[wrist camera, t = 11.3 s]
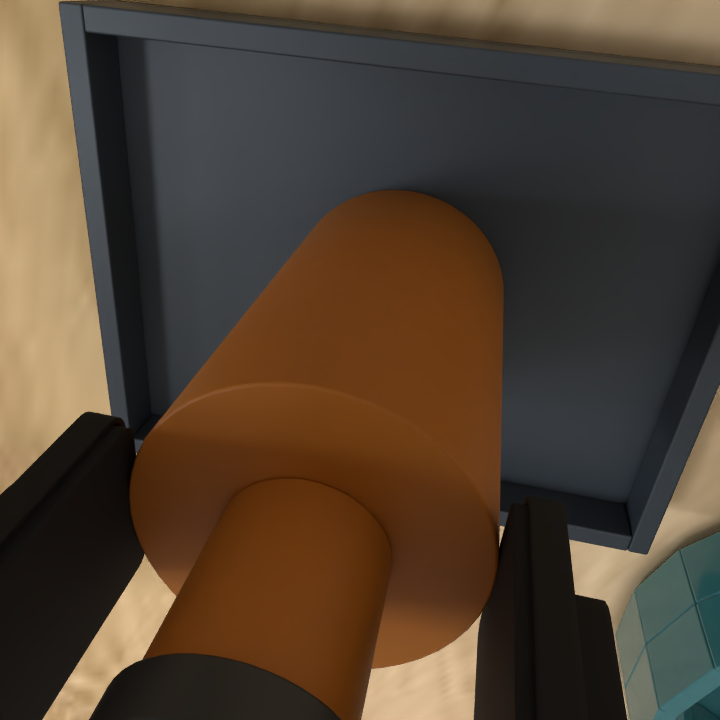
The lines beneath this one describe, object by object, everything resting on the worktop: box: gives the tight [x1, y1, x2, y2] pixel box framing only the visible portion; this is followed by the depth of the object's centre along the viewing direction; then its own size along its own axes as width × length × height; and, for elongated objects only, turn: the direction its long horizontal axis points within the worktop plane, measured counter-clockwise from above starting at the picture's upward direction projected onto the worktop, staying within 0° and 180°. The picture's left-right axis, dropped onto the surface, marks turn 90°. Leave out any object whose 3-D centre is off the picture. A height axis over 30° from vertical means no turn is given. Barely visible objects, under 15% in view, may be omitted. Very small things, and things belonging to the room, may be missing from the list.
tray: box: [59, 0, 720, 554], centre depth 19 cm, size 17×13×2 cm
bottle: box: [89, 190, 504, 720], centre depth 13 cm, size 6×6×14 cm
